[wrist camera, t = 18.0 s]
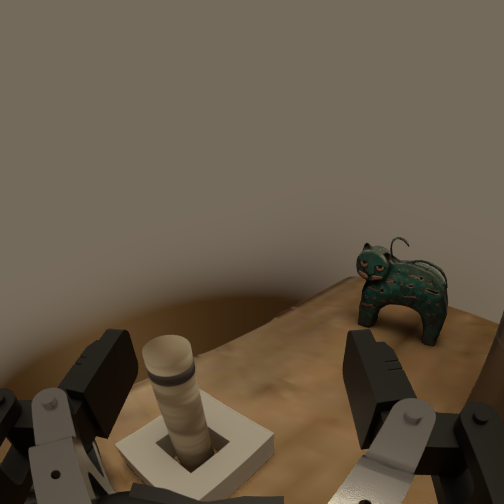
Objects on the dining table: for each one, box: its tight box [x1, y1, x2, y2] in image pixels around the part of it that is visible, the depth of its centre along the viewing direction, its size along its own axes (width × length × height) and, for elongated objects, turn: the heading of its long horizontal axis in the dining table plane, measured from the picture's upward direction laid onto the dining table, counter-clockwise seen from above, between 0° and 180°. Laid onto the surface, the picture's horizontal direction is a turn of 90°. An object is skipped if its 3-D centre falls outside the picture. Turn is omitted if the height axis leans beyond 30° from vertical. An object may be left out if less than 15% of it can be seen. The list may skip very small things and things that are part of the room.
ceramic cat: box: [356, 237, 448, 346], centre depth 56 cm, size 20×6×20 cm, turn 48°
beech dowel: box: [142, 335, 214, 473], centre depth 30 cm, size 5×5×20 cm
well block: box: [115, 389, 274, 502], centre depth 33 cm, size 15×13×5 cm
